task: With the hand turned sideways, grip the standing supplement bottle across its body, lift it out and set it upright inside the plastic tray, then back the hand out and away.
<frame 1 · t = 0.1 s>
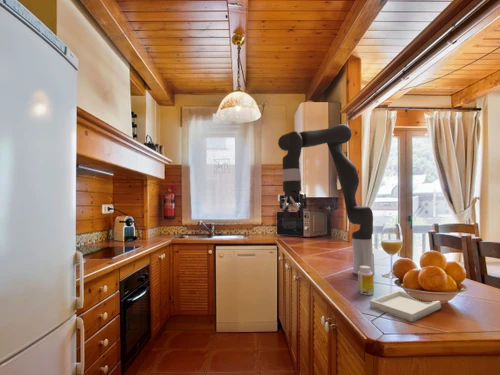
hand: (293, 219, 110), 29 cm above the counter, tool pointing down, fingers open, 8 cm apart
supplement bottle: (366, 293, 105), on the counter
tray: (404, 307, 90), on the counter
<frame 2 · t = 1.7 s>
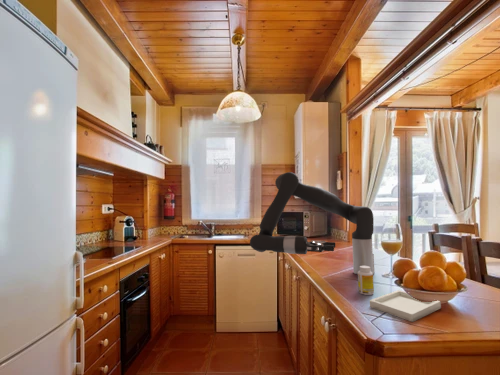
hand: (334, 246, 110), 18 cm above the counter, tool horizontal, fingers open, 8 cm apart
nothing on the counter moved.
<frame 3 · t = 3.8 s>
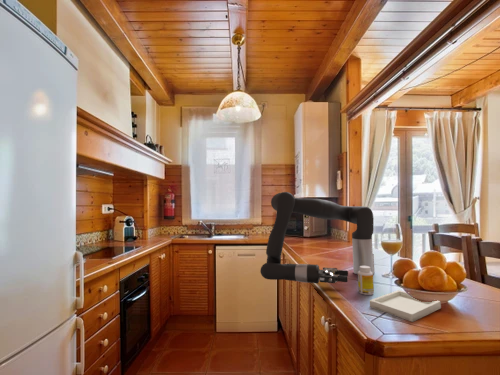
hand: (347, 276, 107), 6 cm above the counter, tool horizontal, fingers open, 8 cm apart
nothing on the counter moved.
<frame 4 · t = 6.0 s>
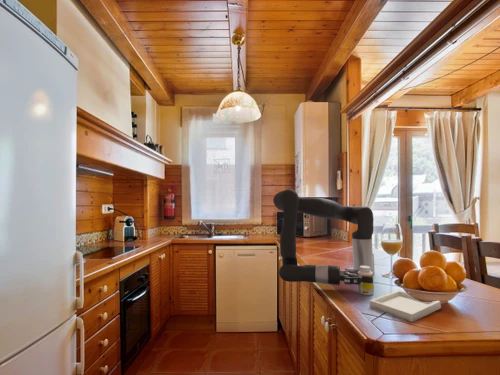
hand: (372, 278, 104), 6 cm above the counter, tool horizontal, fingers closed on supplement bottle, 5 cm apart
supplement bottle: (366, 293, 105), on the counter, touching gripper
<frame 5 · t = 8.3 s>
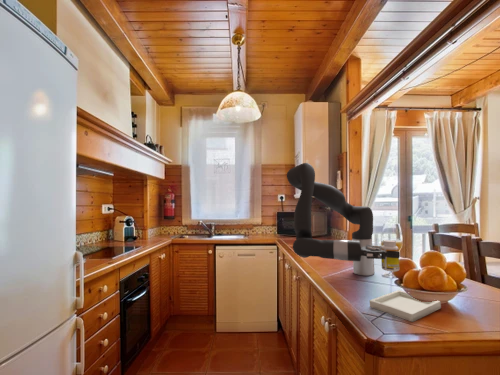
hand: (397, 253, 93), 18 cm above the counter, tool horizontal, fingers closed on supplement bottle, 5 cm apart
supplement bottle: (390, 270, 94), point 12 cm above the counter, touching gripper
when the fingers open (8 cm above the counter, at t = 11.0 s): supplement bottle drops 1 cm, resting on tray.
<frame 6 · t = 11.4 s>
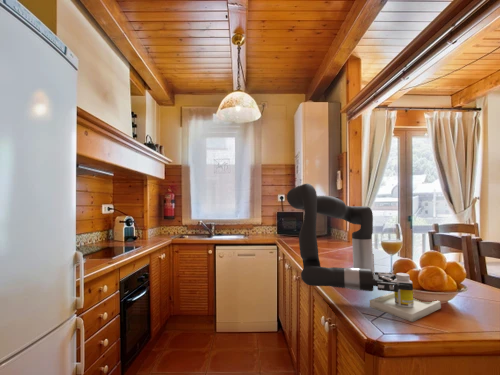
hand: (410, 282, 90), 8 cm above the counter, tool horizontal, fingers open, 8 cm apart
supplement bottle: (404, 305, 90), point 1 cm above the counter, touching tray
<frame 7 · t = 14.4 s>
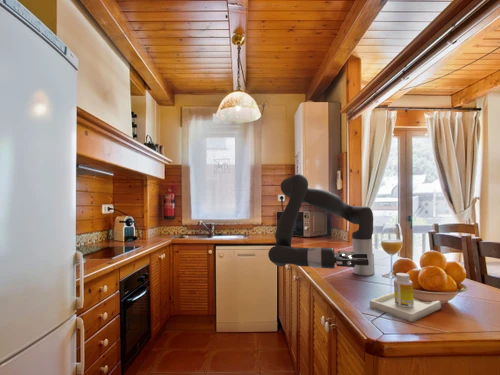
hand: (367, 259, 95), 15 cm above the counter, tool horizontal, fingers open, 8 cm apart
nothing on the counter moved.
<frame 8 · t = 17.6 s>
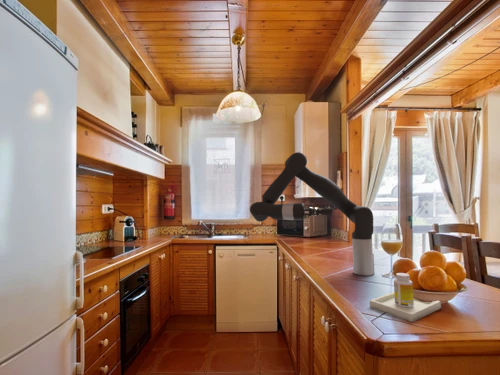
hand: (331, 211, 113), 32 cm above the counter, tool horizontal, fingers open, 8 cm apart
nothing on the counter moved.
at the end: supplement bottle inside the target area on the tray (0.1 cm from its centre), point 0.6 cm above the tray's base; supplement bottle tilted 0°; the gripper is holding nothing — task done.
